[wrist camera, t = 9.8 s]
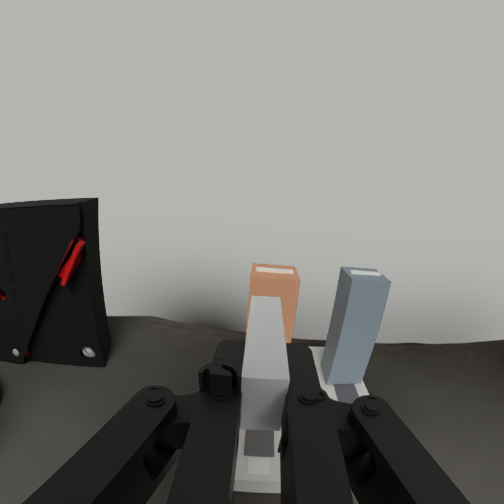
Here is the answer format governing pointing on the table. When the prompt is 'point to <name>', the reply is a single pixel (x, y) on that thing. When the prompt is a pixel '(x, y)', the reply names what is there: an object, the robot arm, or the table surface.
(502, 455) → the table surface
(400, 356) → the table surface
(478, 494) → the table surface
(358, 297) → the slate switch
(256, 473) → the switch plate
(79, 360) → the electrical component
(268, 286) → the terracotta switch
